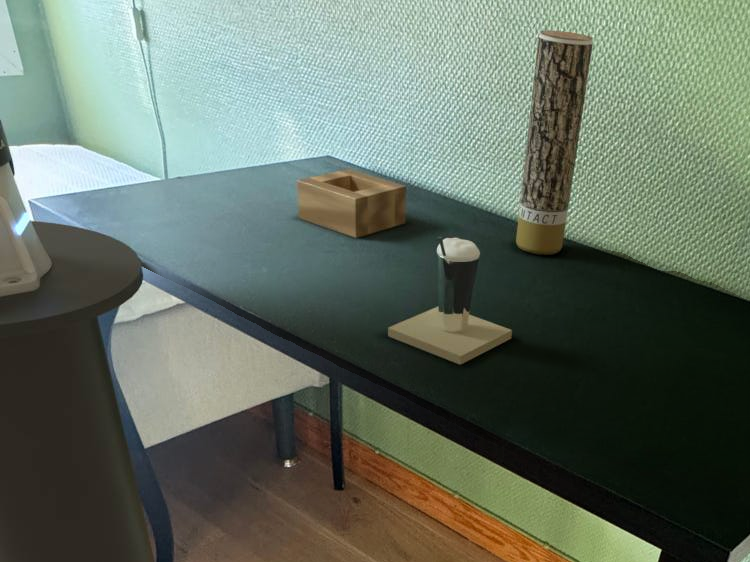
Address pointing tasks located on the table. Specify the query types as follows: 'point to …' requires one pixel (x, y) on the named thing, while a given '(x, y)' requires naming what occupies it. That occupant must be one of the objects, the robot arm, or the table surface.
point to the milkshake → (455, 282)
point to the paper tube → (552, 139)
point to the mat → (449, 336)
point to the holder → (351, 202)
